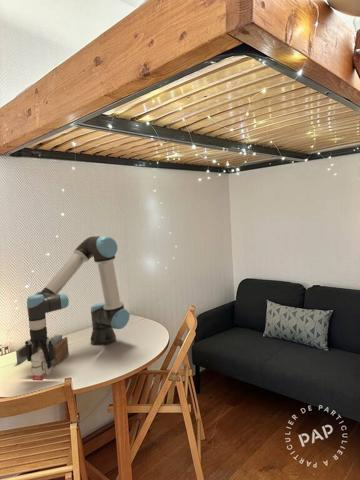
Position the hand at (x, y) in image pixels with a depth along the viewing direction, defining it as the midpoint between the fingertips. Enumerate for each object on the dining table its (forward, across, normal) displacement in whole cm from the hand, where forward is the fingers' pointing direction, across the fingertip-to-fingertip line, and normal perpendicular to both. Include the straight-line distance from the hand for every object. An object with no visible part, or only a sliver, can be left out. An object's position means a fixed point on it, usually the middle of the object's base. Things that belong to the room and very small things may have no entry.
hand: (42, 374), depth 159 cm
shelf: (+1, +9, -16) cm, 18 cm away
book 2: (0, +1, -16) cm, 16 cm away
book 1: (0, +5, -16) cm, 16 cm away
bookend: (0, +20, -16) cm, 25 cm away
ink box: (+1, 0, 0) cm, 1 cm away
